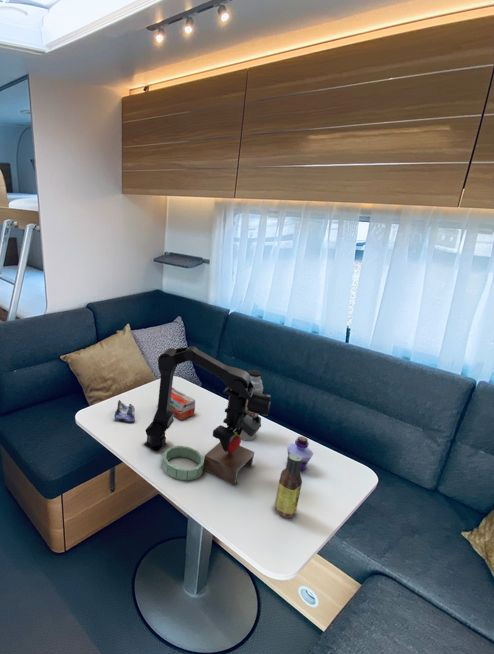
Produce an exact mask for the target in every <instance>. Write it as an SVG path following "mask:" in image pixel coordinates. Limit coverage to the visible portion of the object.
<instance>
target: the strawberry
mask: <svg viewBox="0 0 494 654" xmlns="http://www.w3.org/2000/svg"><path fill="white" fill-rule="evenodd" d="M234 433H235V436H234V438H235V439H234V440H233V441H232V442H230V444H229V448H228V450H227V452H228V453H229V454H232V453H233V452H234V451H235V450H236V449H237V448H238V447H239V445H240V446H241V442H242V439H241V437H240V435H238V434H237V433H238V432H234Z"/></svg>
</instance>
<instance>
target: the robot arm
mask: <svg viewBox="0 0 494 654" xmlns="http://www.w3.org/2000/svg"><path fill="white" fill-rule="evenodd" d="M186 362H191V363H193V364H195V365H197V366H198V367H200V368H202V369H204V370H205V371H207V372H208V373H210V374H212V375H214V376H216V377H218V378H219V379H220V380H222V382H223V383H224V385H225V386H226V387H225V388H224V390H223V394H224V395H227V396H228V401H227V406H226V408H225V409H224V413H226V416H225V418H224V419H223V421H222V423H223V424H225V425H226V426H224V425H221V424H220V425H219V426H217V427H215V428H214V429H212V437H213V438H215V439H218V441H219V442H221V445H222V447H223V450H224V451H226V452H227V450H228V448H229V444H230V442H232V441H233V440H234V439H235V438H234V436H235V433H234V432H238V433H237V434H238V435H241V433H242V431H244V432H246V433H247V434H248V435H249V436H251V437H252V436H253V435H254V434H255V435H256V434H257V433H258V431H259V430H260V428H261V427H262V418H261V416H260V415H262V416H267V417H268V416H269V412H270V408H271V403H272V402H271V398H272V395H270V394H265V393H262V394H260V393H256V392H254V391H255V387H254V386H253V384H252V382H251V378H250V375H249V373H248V371H246V370H244V369H241V368H238V367H234V366H229V365H227V364H224V363H223V362H221V361H220V360H218V359H216V358H214V357H212V356H211V355H209V354H207V353H206V352H203V351H202V350H200V349H198V348H197V347H196V346H194V345H193V346H192V345H190V346H188V347H179V348H173V347H170V348H167V349H166V350H164V352H162V353H161V354H160V355H159V356H158V358H157V365H158V366H157V367H158V368H157V369H158V371H159V373H160V379H159V390H158V391H159V392H158V401H157V409H156V411H155V413H154V416H153V418H152V421H151V423H149V425H148V426H146V429H145V430H144V431H145V435H146V441H145V442H144V444H143V445H144V446H145V447H147V448H149V449H151V450H153V451H155V452H159V451H160V450H162V449H163V448H165V447H166V446H167V445H168V443H167V437H166V431H167V430H169V428H170V427H171V426H172V424H173V423H174V421H175V419H174V417H175V416H174V413H175V412H171V410H170V401H171V392H172V387H173V384H174V383H173V381H174V374H175V371H176V369H177V367H178V365H180V364H183V363H186ZM247 399H248V404H247V408H248V411H250V412H254V413H258V414H259V416H255V417H253V416H252V414H250V413H248V412H247V410H245V407H246V400H247Z"/></svg>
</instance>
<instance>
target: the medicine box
mask: <svg viewBox="0 0 494 654" xmlns="http://www.w3.org/2000/svg"><path fill="white" fill-rule="evenodd" d="M195 409H196V399H195V398H193V397H192V396H190V395H187V394H186V393H184V392H182V391H181V390H179V389H177V388H175V387H173V386H172V392H171V401H170V410H171V412H175V413H174V417H175V418H176V419H178V420H180V421H183V420H185V419H187V418H190V417H192V416H194V415H195V411H196V410H195Z"/></svg>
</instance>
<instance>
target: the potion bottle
mask: <svg viewBox="0 0 494 654" xmlns="http://www.w3.org/2000/svg"><path fill="white" fill-rule="evenodd" d="M309 444H310V443H309V439H308V438H307V437H305V436H301V435H300V436H298V437H297V438H296V439H295V441H294V443H290V445H288V446H287V448H286V449H287V450H286V451H287V455H288V454H290V453H295V454H298V455H300V456H301V457H302V463H301V466H300V472H304V470H305V469H306V467H307V465H308V463H309V462H310V461H311V459H312V458H313V456H314V452H313V451H312V449H311V448H310V447H309Z"/></svg>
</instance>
